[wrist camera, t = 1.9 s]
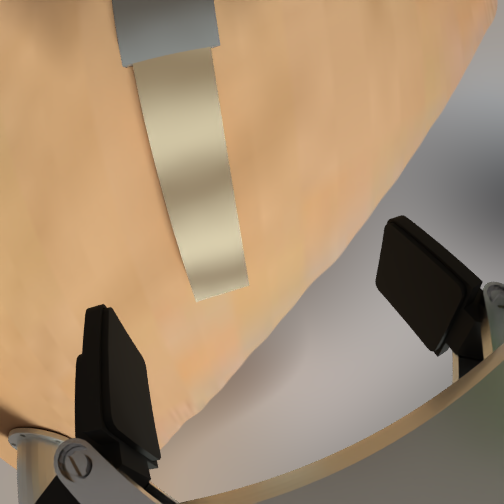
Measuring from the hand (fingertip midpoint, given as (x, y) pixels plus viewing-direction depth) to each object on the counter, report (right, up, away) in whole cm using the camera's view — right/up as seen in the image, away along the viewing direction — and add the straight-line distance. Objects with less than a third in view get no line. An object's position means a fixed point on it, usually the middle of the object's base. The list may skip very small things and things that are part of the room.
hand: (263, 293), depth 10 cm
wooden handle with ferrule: (-5, +9, +8) cm, 13 cm away
